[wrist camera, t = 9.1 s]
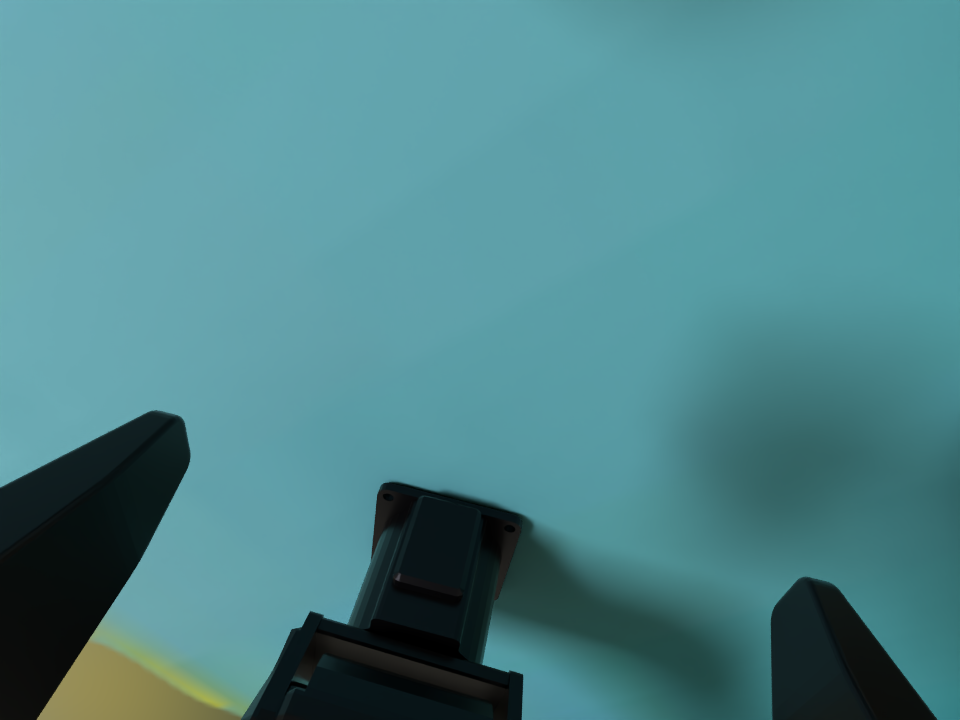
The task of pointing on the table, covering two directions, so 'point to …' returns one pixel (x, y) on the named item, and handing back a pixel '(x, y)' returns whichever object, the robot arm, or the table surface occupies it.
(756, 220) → the table surface
